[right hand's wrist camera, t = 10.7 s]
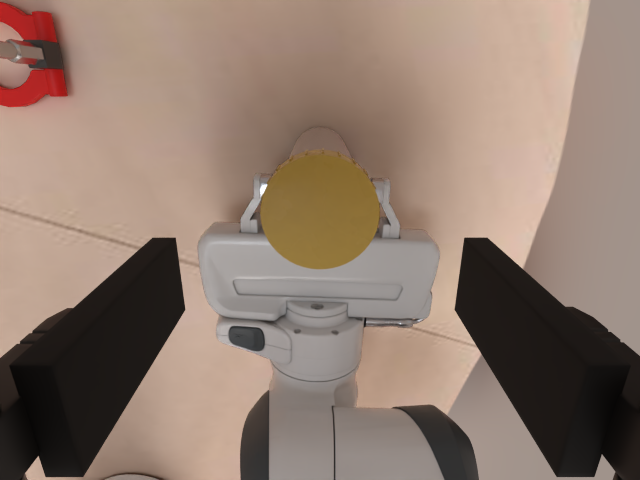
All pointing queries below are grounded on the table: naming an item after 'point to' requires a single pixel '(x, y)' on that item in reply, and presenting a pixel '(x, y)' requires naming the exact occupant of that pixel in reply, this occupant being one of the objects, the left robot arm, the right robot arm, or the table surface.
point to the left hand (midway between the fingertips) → (322, 176)
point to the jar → (320, 141)
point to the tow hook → (32, 56)
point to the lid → (320, 209)
